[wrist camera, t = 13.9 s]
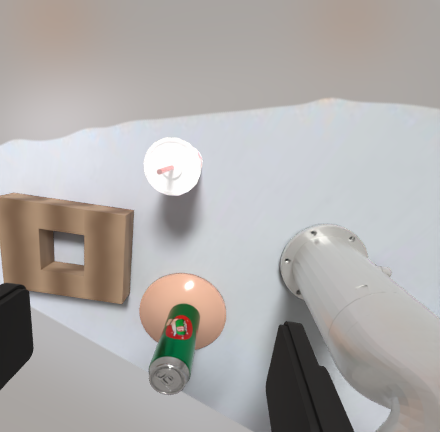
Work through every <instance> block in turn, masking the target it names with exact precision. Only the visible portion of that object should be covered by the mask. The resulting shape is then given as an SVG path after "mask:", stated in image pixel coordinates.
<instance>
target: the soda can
mask: <svg viewBox="0 0 440 432" xmlns="http://www.w3.org/2000/svg"><path fill="white" fill-rule="evenodd" d="M199 323H200V314H199V312H198V310H197V309H196V308H195V307H194V306H192V305H189V304H184V303H183V304H178V305H175V306H174V307H173V308H172V309H171V310H170V312H169V314H168V317H167V320H166V323H165V325H164V328H163V331H162V333H161V336H160V339H159V342H158V344H157V347H156V350H155V352H154V355H153V358H152V360H151V363H150V366H149V381H150V384H151V386H152V387H153V388H154V389H155V390H156V391H157V392H159V393H162V394H166V395H172V394H176V393H178V392H180V391H182V390H183V388H184V387H185V384H186V383H187V382H188V381H189V379H190V375H191V369H192V363H193V358H194V352H195V346H196V341H197V335H198V329H199Z"/></svg>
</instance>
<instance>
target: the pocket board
mask: <svg viewBox="0 0 440 432" xmlns="http://www.w3.org/2000/svg"><path fill="white" fill-rule="evenodd" d="M133 218H134V210H129V209H122V208H115V207H108V206H101V205H94V204H87V203H80V202H74V201H67V200H60V199H53V198H46V197H39V196H32V195H25V194H18V193H10V194H6V195H1V196H0V247H1V258H2V268H3V278H4V283H14V284H21V285H24V286H25V287H26V290H29V291H36V292H42V293H49V294H56V295H63V296H70V297H77V298H84V299H90V300H97V301H104V302H111V303H118V304H123V302H124V301H125V299H126V298H127V296H128V295H129V293H130V277H131V258H132V238H133ZM53 231H59V232H66V233H73V234H80V235H84V266H83V265H76V264H69V263H63V262H56V261H54V240H53Z"/></svg>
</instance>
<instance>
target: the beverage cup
mask: <svg viewBox="0 0 440 432" xmlns="http://www.w3.org/2000/svg"><path fill="white" fill-rule="evenodd" d="M202 166H203V162H202V157H201V154H200V153H199V152H198V151H197V149H196V148H194V147H192V146H191V145H190V144H189V143H188V142H186V141H184V140H181V139H179V138H163V139H161V140H159V141H156V142H155V143H154V144H153V145H152V146H151V147H150V148H149V149H148V150H147V153H146V156H145V159H144V173H145V175H146V177H147V179H148V181H149V183H150V184H151V185H152V186H153V187H154V188H155V189H156V190H157V191H159V192H161V193H164V194H166V195H178V196H179V195H181V194H184V193H186V192H189V191H190V190H191V189H192V188H193V187H194V186H195V185H196V184H197V182H198V179H199V177H200V174H201V168H202Z"/></svg>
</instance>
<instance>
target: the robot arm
mask: <svg viewBox="0 0 440 432" xmlns="http://www.w3.org/2000/svg"><path fill="white" fill-rule="evenodd" d="M312 231H313V233H311V232H312ZM350 237H351V238H350ZM285 259H287V260H285ZM280 269H281V275H282V277H283V280H284V282H285V284H286V286H287V287H288V289H289V290H290V291H291V292H292V293H293V294H294V295H295V296H297V297H298V298H300V299H302V300H304V301H305V302H306V304H307V306H308V308H309V311H310V313H311V315H312V317H313V319H314V321H315V323H316V325H317V327H318V329H319V331H320V333H321V336H322V338H323V340H324V342H325V344H326V346H327V348H328V350H329V352H330V354H331V356H332V358H333V360H334V362H335V364H336V366H337V368H338V370H339V372H340V373H341V375H342V376H343V377H344V379H345V380H346V381H347V382H348V383H349V384H350V385H351V386H352V387H353V388H354V389H355V390H356V391H357V392H359V393H360V394H362V395H363V396H365V397H366V398H368V399H370V400H371V401H373V402H375V403H377V404H379V405H382V406H384V407H386V408H389V409H391V412H390V415H389V416H388V418H387V419H386V421H385V422H384V423H383V424H382V425H381V426H380V427H379V428H378V429H377V430H376V431H375V432H440V318H439V317H438V316H436V315H435V314H434V313H433V312H432V311H430V310H429V309H428V308H427V307H425V306H424V305H423V304H422V303H421V302H419V301H418V300H417V299H415V298H414V297H413V296H412V295H410V294H409V293H408V292H407V291H406V290H404V289H403V288H402V287H401V286H400V285H398V284H397V283H396V282H395V281H393V280H392V279H391V278H390V276H391V274H392V271H391V269H390V268H388V267H382V266H377V265H376V264H374V263H373V262H372V261H371V260H369V259H368V254H367V250H366V248H365V246H364V244H363V242H362V241H361V240H360V239H359V237H358V236H357V235H355V234H354V233H353V232H351V231H350V230H348V229H346V228H344V227H341V226H338V225H333V224H319V225H315V226H311V227H309V228H306V229H304V230H302V231H301V232H299V233H297V234H296V235H295V236H294V237H293V238H292V239H291V240H290V241H289V242H288V244H287V245H286V247H285V249H284V251H283V253H282V257H281V262H280ZM32 353H33V337H32V323H31V311H30V297H29V291H28V290H26V287H25V286H24V285H21V284H14V283H4V284H1V285H0V390H1V389H2V388H3V387H4V385H5V384H6V383H7V382H8V381H9V380H10V379H11V378H12V377H13V376H14V375H15V374H16V373H17V372H18V371H19V370H20V369H21V367H22V366H23V365H24V364H25V363H26V362H27V361H28V360H29V359H30V357H31V355H32ZM266 396H267V403H268V410H269V417H270V424H271V431H272V432H354V430H353V428H352V426H351V423H350V421H349V419H348V416H347V414H346V412H345V410H344V407H343V405H342V403H341V400H340V398H339V396H338V393H337V391H336V389H335V386H334V384H333V382H332V380H331V377H330V375H329V373H328V371H327V369H326V368H325V367H324V366H319V365H318V362H317V360H316V357H315V355H314V352H313V350H312V347H311V345H310V342H309V340H308V337H307V335H306V332H305V330H304V328H303V325H302V324H301V323H295V322H287V321H286V322H285V323H284V325H279V328H278V332H277V337H276V341H275V346H274V350H273V354H272V359H271V363H270V368H269V372H268V376H267V381H266Z"/></svg>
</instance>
